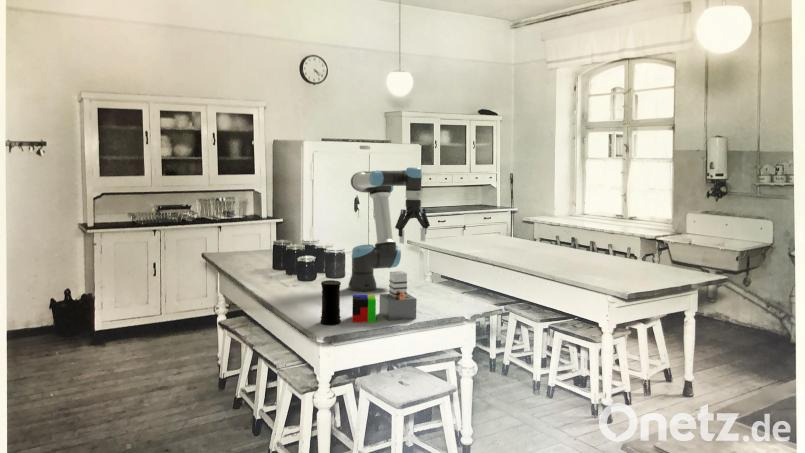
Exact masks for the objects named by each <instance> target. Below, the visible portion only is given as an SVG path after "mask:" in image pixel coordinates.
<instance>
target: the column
mask: <svg viewBox="0 0 805 453" xmlns="http://www.w3.org/2000/svg"><path fill="white" fill-rule="evenodd" d="M388 282H389V284H388V286H389V291H388V294H389V297H391V298H392V299H398V295H400V292H404V295H405V296H406V294H407V293H408V292H407V291H408V290H407V289H408V286H407V284H408V273H406V271H405V272H404V271H403V270H402V271H401V270H400V271H397V270H395V271H389V279H388Z"/></svg>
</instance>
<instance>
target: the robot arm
mask: <svg viewBox="0 0 805 453" xmlns="http://www.w3.org/2000/svg"><path fill="white" fill-rule="evenodd" d="M422 177H423V174H422V168H421V167H414V166H413V167H410V166H409V167H406V169H405V170H379V169H378V170H371V171H359V172H355V173H354V174H353V175H352V176H351V178H350V185H351V187H352V188H353V190H355V191H356V192H360V193H366V194H367V193H368V194H369V197H370V198H371V199H372V202H373V203H372V204H373V213H374V221H375V222H374V224H375V233H376V242H375V244H374V245H373V244H368V243H367V244H361V245H356V246H354V247H353V248H352V251H351V276H350V279H349V282H348V287H347V288H348V290H350V291H353V292H369V291H375V290H377V286H378V285H377V282H376V278H375V275H374V270H375V269H376V270H377V269H392V268H397V267H398V266H399V264H400V262H401V258H402V251H401V247H400V246H398V245H397V242H396V241H395V240H394V239H393V238H394V237H393V228H392V220H391V211H390V209H391V208H390V201H389V197H390V196H391V194H392V192H393V191H394V187H395V186H396V187H400V186H401V187H402V186H403V187H405V207H406V208H405V209H401V210H400V213H399V214H400V215H399V217H398V219H397V220H396V224H395V227H394V229H396V230H398V237H399V239H398V241H399V244H405V227H406V226H407V224H408V222H409V221H410V220H411V219H416V220H417V221H418V223H419V225H420V226H421V227H420V241H421V242H426V235H427V229H429V227H430V225H431V223H430V222H429V220H428V216H427V213H426V208H424V207H423V208H422V200H421V198H422Z"/></svg>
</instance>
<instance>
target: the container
mask: <svg viewBox="0 0 805 453" xmlns="http://www.w3.org/2000/svg"><path fill="white" fill-rule="evenodd" d="M341 284H342V283H341V281H339V280H332V279H331V280H330V279H329V280H322V281H321V283H320V285H321V315H320V320H319V322H320V324H321V325H324V326H336V324H337V325H340V324H341V322H342V321H341V318H342V317H341V310H340V308H341V307H340V303H341V302H340V301H341V300H340V299H341V298H340V297H341V296H340V294H341V291H340V289H341ZM339 323H340V324H339Z"/></svg>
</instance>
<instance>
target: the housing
mask: <svg viewBox="0 0 805 453" xmlns="http://www.w3.org/2000/svg"><path fill="white" fill-rule="evenodd" d="M417 300H418V299H417V298H416V297H414V296H412V295H411V294H409V293H408V292H407V294H406V296H405V295H404V292H400V295H398V299H392V298H391V297H389V293H382V294H379V311H378V312H379V315H380V316H382V317H383V318H384V319H386V320H387V321H388V322H389V321H391V322H392V321H400V320H401V321H402V320H414V319H417Z"/></svg>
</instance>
